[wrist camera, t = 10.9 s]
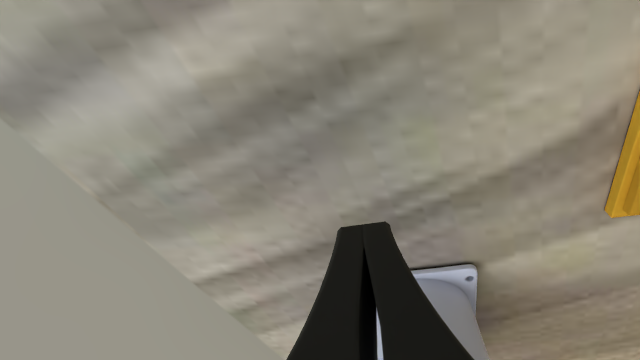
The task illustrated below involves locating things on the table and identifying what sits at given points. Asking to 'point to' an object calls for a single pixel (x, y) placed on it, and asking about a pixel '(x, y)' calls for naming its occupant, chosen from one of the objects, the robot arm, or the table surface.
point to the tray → (627, 173)
